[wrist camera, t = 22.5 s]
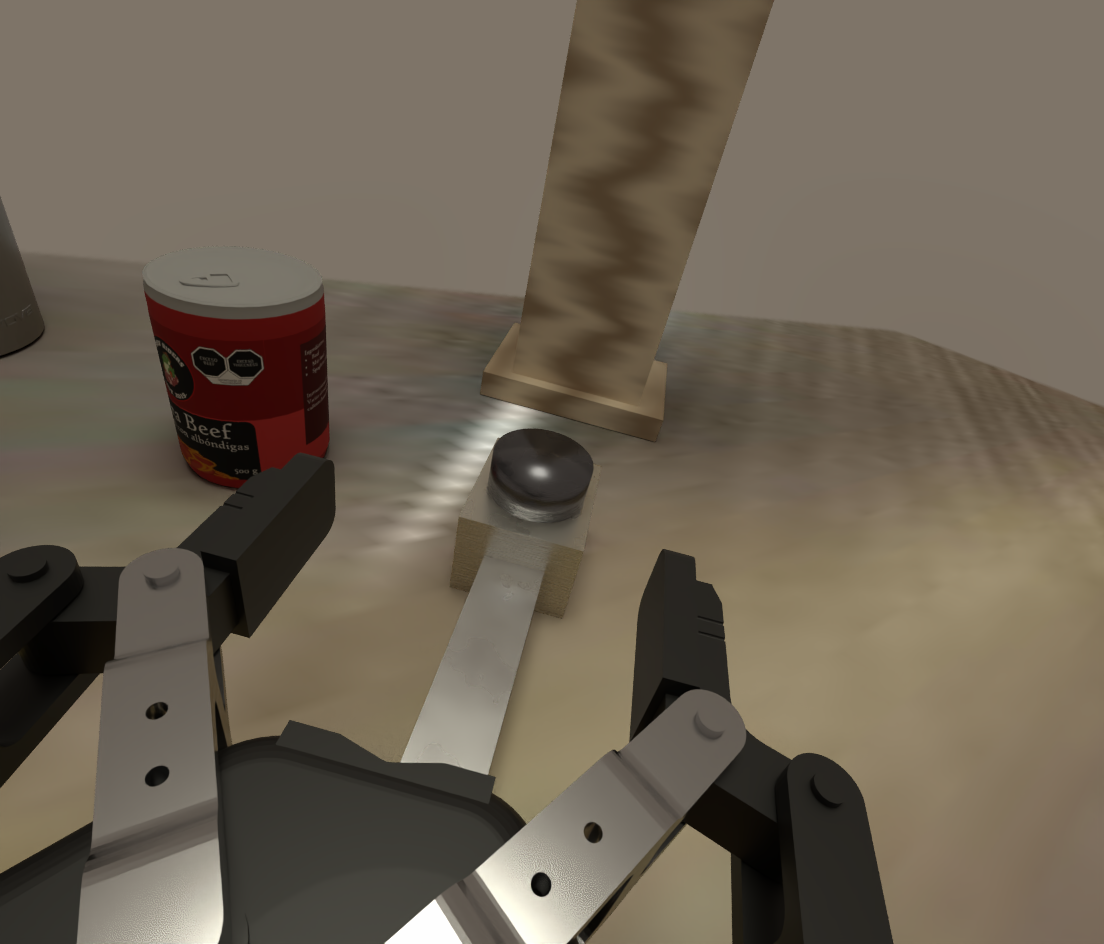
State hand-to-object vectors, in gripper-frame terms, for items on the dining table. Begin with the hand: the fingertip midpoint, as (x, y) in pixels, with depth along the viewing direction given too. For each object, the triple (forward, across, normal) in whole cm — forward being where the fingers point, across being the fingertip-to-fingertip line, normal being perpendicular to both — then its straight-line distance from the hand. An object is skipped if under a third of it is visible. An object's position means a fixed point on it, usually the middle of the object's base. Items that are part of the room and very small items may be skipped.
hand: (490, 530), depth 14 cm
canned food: (+16, +17, +14) cm, 27 cm away
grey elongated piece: (+8, 0, +14) cm, 16 cm away
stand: (+34, 0, +13) cm, 36 cm away
